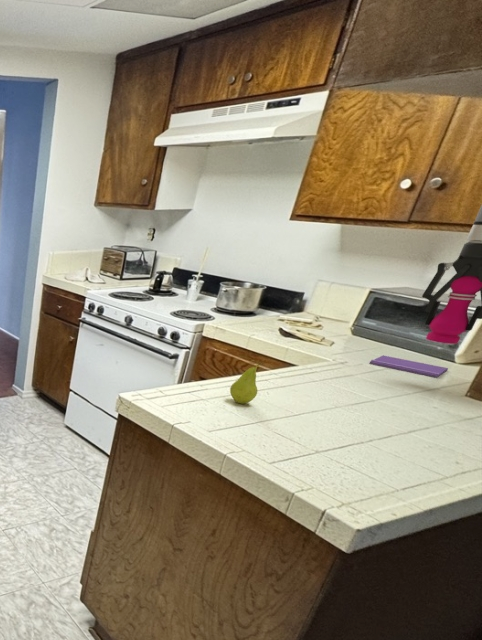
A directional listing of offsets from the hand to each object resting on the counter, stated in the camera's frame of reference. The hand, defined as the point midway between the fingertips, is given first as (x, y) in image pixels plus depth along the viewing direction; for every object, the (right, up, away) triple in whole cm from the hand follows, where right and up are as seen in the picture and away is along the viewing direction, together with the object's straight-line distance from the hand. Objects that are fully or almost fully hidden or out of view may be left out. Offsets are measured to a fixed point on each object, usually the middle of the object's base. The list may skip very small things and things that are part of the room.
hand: (447, 326), depth 132 cm
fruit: (-65, -22, -7) cm, 68 cm away
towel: (+15, -10, +24) cm, 30 cm away
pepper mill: (0, -4, +2) cm, 4 cm away
